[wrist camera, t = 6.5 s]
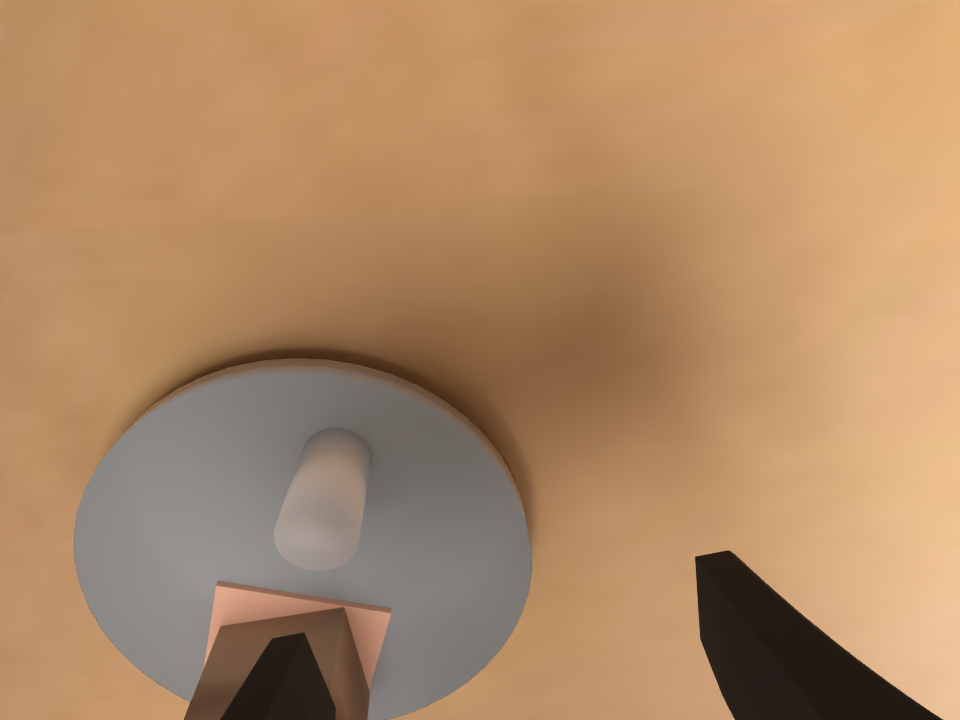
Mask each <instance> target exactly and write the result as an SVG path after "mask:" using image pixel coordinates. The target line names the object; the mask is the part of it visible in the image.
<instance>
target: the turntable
mask: <svg viewBox="0 0 960 720" xmlns="http://www.w3.org/2000/svg"><path fill="white" fill-rule="evenodd" d="M74 557H75V566H76V570H77V574H78V579H79V583H80V587H81V589H82V592H83V594H84V597H85V599H86V602H87V604H88V607H89V609H90V611H91V612H92V614H93V616H94V617H95V619H96V621H97V623H98V624H99V626H100V628H101V629H102V631H103V632H104V633H105V634H106V636H107V637H108V638H109V639H110V641H111V642H112V643H113V644H114V646H115V647H116V648H117V649H118V650H119V651H120V652H121V653H122V654H123V655H124V656H125V657H126V658H127V659H128V660H129V661H130V662H131V663H132V664H133V665H134V666H135V667H136V668H138V669H139V670H140V671H141V672H143V673H144V674H145V675H147V676H148V677H149V678H151V679H152V680H153V681H154V682H156V683H157V684H159V685H161V686H162V687H164V688H166V689H167V690H169V691H171V692H172V693H174V694H175V695H177V696H179V697H181V698H183V699H185V700H187V701H190V702H191V700H192V697H193V695H194V692H195V690H196V687H197V684H198V682H199V679H200V677H201V674H202V672H203V669H204V667H205V664H206V662H207V659H208V656H209V654H210V651H211V649H212V646H213V644H214V641H215V639H216V636H217V633H218V631H219V628H220V626H224V625H231V624H238V623H244V622H251V621H257V620H264V619H270V618H277V617H283V616H290V615H296V614H303V613H309V612H316V611H322V610H329V609H335V608H342V607H344V608H345V611H346V615H347V618H348V621H349V625H350V628H351V631H352V635H353V638H354V641H355V645H356V648H357V651H358V655H359V658H360V661H361V665H362V668H363V671H364V675H365V678H366V681H367V685H368V688H369V691H370V700H369V709H368V719H367V720H389V719H393V718H396V717H399V716H403V715H406V714H408V713H411V712H413V711H416V710H418V709H421V708H423V707H426V706H428V705H430V704H432V703H434V702H436V701H438V700H440V699H441V698H443V697H445V696H447V695H449V694H450V693H452V692H453V691H455V690H456V689H458V688H459V687H461V686H462V685H464V684H465V683H467V682H468V681H469V680H470V679H472V678H473V677H474V676H475V675H476V674H477V673H479V672H480V671H481V670H482V669H483V668H484V667H486V665H487V664H488V663H489V662H490V661H491V660H492V659H493V658H494V657H495V655H496V654H497V653H498V652H499V651H500V650H501V648H502V647H503V645H504V644H505V642H506V641H507V640H508V638H509V637H510V635H511V634H512V632H513V630H514V628H515V626H516V624H517V622H518V620H519V618H520V616H521V614H522V612H523V608H524V605H525V602H526V598H527V595H528V592H529V586H530V578H531V571H532V560H531V543H530V538H529V533H528V528H527V523H526V518H525V513H524V508H523V503H522V499H521V497H520V494H519V491H518V488H517V486H516V483H515V480H514V478H513V476H512V474H511V472H510V471H509V469H508V467H507V465H506V463H505V462H504V460H503V458H502V456H501V455H500V454H499V452H498V451H497V450H496V448H495V447H494V446H493V445H492V443H491V442H490V441H489V439H488V438H487V437H486V436H485V435H484V434H483V433H482V432H481V431H480V430H479V429H478V428H477V427H476V426H475V425H474V424H473V423H472V422H471V421H470V420H469V419H468V418H467V417H466V416H465V415H463V414H462V413H461V412H459V411H458V410H457V409H455V408H454V407H453V406H451V405H450V404H449V403H447V402H446V401H445V400H443V399H441V398H440V397H438V396H436V395H434V394H433V393H431V392H429V391H427V390H426V389H424V388H422V387H420V386H419V385H416V384H414V383H412V382H409V381H407V380H404V379H402V378H400V377H397V376H395V375H392V374H390V373H387V372H383V371H380V370H376V369H373V368H369V367H366V366H362V365H359V364H352V363H346V362H340V361H334V360H327V359H306V358H288V359H275V360H262V361H257V362H252V363H247V364H242V365H237V366H232V367H229V368H226V369H223V370H220V371H217V372H214V373H211V374H208V375H205V376H202V377H200V378H198V379H196V380H194V381H192V382H190V383H188V384H186V385H184V386H182V387H180V388H178V389H176V390H174V391H173V392H171V393H170V394H168V395H167V396H165V397H164V398H163V399H161V400H160V401H158V402H157V403H155V404H154V405H152V406H151V407H150V408H149V409H148V410H147V411H146V412H145V413H144V414H143V415H141V416H140V417H139V418H138V419H137V420H136V421H135V422H134V423H133V424H132V425H131V426H130V427H129V428H128V429H127V431H126V432H125V433H124V434H123V435H122V436H121V437H120V439H119V440H118V441H117V442H116V443H115V444H114V445H113V447H112V448H111V449H110V451H109V452H108V453H107V454H106V456H105V457H104V458H103V460H102V461H101V462H100V463H99V465H98V466H97V467H96V469H95V471H94V473H93V475H92V477H91V479H90V481H89V482H88V484H87V486H86V488H85V490H84V493H83V496H82V499H81V502H80V505H79V509H78V512H77V516H76V524H75V531H74Z"/></svg>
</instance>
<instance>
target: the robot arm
mask: <svg viewBox="0 0 960 720" xmlns="http://www.w3.org/2000/svg"><path fill="white" fill-rule="evenodd" d="M695 562H696V578H697V594H698V609H699V625H700V639H701V642H702V644H703V647H704V649H705V652H706V655H707V657H708V660H709V662H710V665H711V668H712V670H713V673H714V675H715V678H716V680H717V683H718V685H719V688H720V690H721V693H722V695H723V697H724V699H725V701H726V703H727V705H728V707H729V709H730V711H731V713H732V715H733V717H734V719H735V720H943V719H941V718H940V717H938V716H937V715H935V714H933V713H932V712H930V711H929V710H927V709H926V708H924V707H923V706H921V705H920V704H919V703H917V702H916V701H914V700H913V699H911V698H910V697H908V696H907V695H906V694H904V693H903V692H901V691H900V690H899V689H897V688H896V687H894V686H893V685H892V684H890V683H889V682H887V681H886V680H885V679H883V678H882V677H881V676H879V675H878V674H877V673H875V672H874V671H873V670H871V669H870V668H869V667H867V666H866V665H865V664H863V663H862V662H861V661H859V660H858V659H857V658H855V657H854V656H853V655H851V654H850V653H849V652H848V651H846V650H845V649H844V648H842V647H841V646H840V645H839V644H837V643H836V642H835V641H834V640H833V639H831V638H830V637H829V636H828V635H826V634H825V633H824V632H823V631H821V630H820V629H819V628H818V627H817V626H815V625H814V624H813V623H812V622H810V621H809V620H808V619H807V618H806V617H804V616H803V615H802V614H801V613H800V612H798V611H797V610H796V609H795V608H794V607H793V606H791V605H790V604H789V603H788V602H787V601H786V600H785V599H783V598H782V597H781V596H780V595H779V594H778V593H777V592H775V591H774V590H773V589H772V588H771V587H770V586H769V585H768V584H766V583H765V582H764V581H763V580H762V579H761V578H760V577H759V576H758V575H757V574H755V573H754V572H753V571H752V570H751V569H750V568H749V567H748V566H747V565H746V564H745V563H744V562H742V561H741V560H740V559H739V558H738V557H737V556H736V555H735V554H734V553H732V552H731V551H729V550H728V551H723V552H717V553H712V554H707V555H702V556H697V557H695ZM335 718H336V707H335V704H334V702H333V700H332V697H331V695H330V692H329V690H328V688H327V685H326V683H325V680H324V678H323V676H322V673H321V671H320V668H319V666H318V663H317V661H316V659H315V656H314V654H313V651H312V649H311V647H310V644H309V642H308V639H307V637H306V635H305V632H303V633H298V634H292V635H287V636H282V637H277V638H272V639H271V641H270V642H269V643H268V645H267V646H266V648H265V649H264V651H263V653H262V654H261V656H260V657H259V659H258V660H257V662H256V663H255V665H254V667H253V668H252V670H251V671H250V673H249V675H248V676H247V678H246V679H245V681H244V682H243V684H242V686H241V687H240V689H239V690H238V692H237V694H236V695H235V697H234V698H233V700H232V701H231V703H230V704H229V706H228V708H227V709H226V711H225V712H224V714H223V715H222V717H221V718H220V720H335Z"/></svg>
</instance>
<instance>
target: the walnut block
mask: <svg viewBox="0 0 960 720" xmlns="http://www.w3.org/2000/svg"><path fill="white" fill-rule="evenodd" d="M303 632H305V635H306V637H307V639H308V642H309V644H310V647H311V649H312V651H313V654H314V656H315V659H316V661H317V663H318V666H319V668H320V671H321V673H322V676H323V678H324V680H325V683H326V685H327V688H328V690H329V692H330V695H331V697H332V700H333V702H334V704H335V707H336V718H335V720H367V719H368V709H369V700H370V691H369V688H368V685H367V681H366V678H365V675H364V671H363V668H362V665H361V661H360V658H359V655H358V651H357V648H356V645H355V641H354V638H353V635H352V631H351V628H350V625H349V621H348V618H347V615H346V611H345V608H344V607H342V608H335V609H329V610H322V611H316V612H309V613H303V614H296V615H290V616H283V617H277V618H270V619H264V620H257V621H251V622H244V623H238V624H231V625H224V626H220V628H219V631H218V633H217V636H216V639H215V641H214V644H213V646H212V649H211V651H210V654H209V656H208V659H207V662H206V664H205V667H204V669H203V672H202V674H201V677H200V679H199V682H198V684H197V687H196V690H195V692H194V695H193V697H192V700H191V702H190V705H189V707H188V710H187V713H186V715H185V718H184V720H220V718H221V717H222V715H223V714H224V712H225V711H226V709H227V708H228V706H229V704H230V703H231V701H232V700H233V698H234V697H235V695H236V694H237V692H238V690H239V689H240V687H241V686H242V684H243V682H244V681H245V679H246V678H247V676H248V675H249V673H250V671H251V670H252V668H253V667H254V665H255V663H256V662H257V660H258V659H259V657H260V656H261V654H262V653H263V651H264V649H265V648H266V646H267V645H268V643H269V642H270V641H271V639H272V638H277V637H282V636H287V635H292V634H298V633H303Z"/></svg>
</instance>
